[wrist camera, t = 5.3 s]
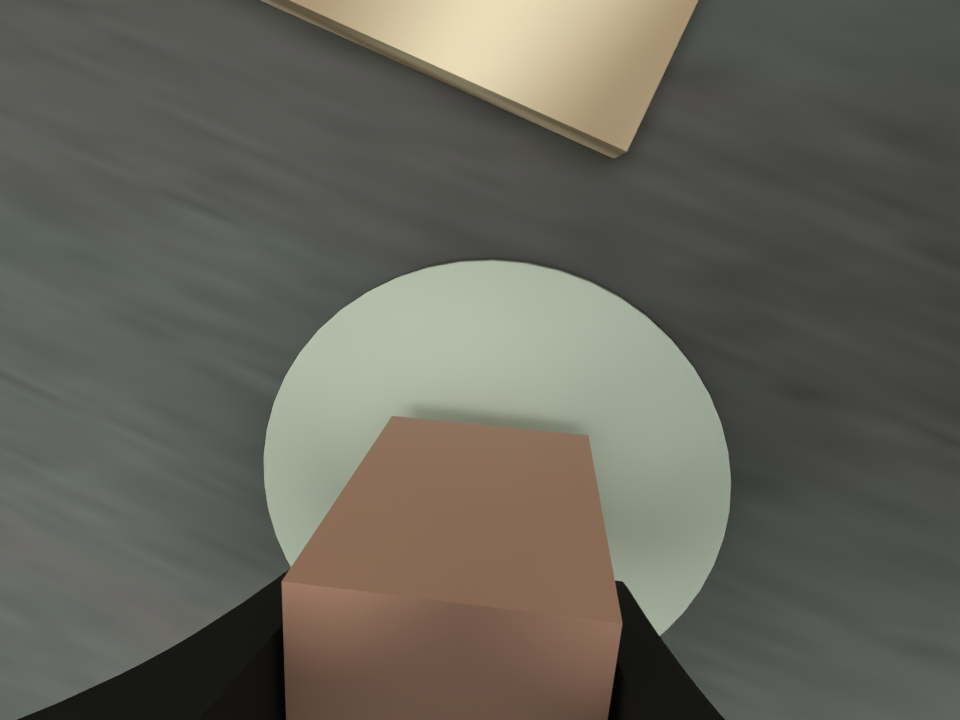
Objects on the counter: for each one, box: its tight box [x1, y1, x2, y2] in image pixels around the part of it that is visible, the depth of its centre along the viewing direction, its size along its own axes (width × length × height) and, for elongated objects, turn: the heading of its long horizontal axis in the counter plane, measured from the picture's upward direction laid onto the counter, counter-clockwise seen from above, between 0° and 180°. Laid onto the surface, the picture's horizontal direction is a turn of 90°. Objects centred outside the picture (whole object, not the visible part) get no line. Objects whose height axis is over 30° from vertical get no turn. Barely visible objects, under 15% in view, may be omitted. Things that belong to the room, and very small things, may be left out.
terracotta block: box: [282, 416, 622, 720], centre depth 11 cm, size 4×4×6 cm
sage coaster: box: [264, 259, 731, 636], centre depth 16 cm, size 12×12×1 cm
